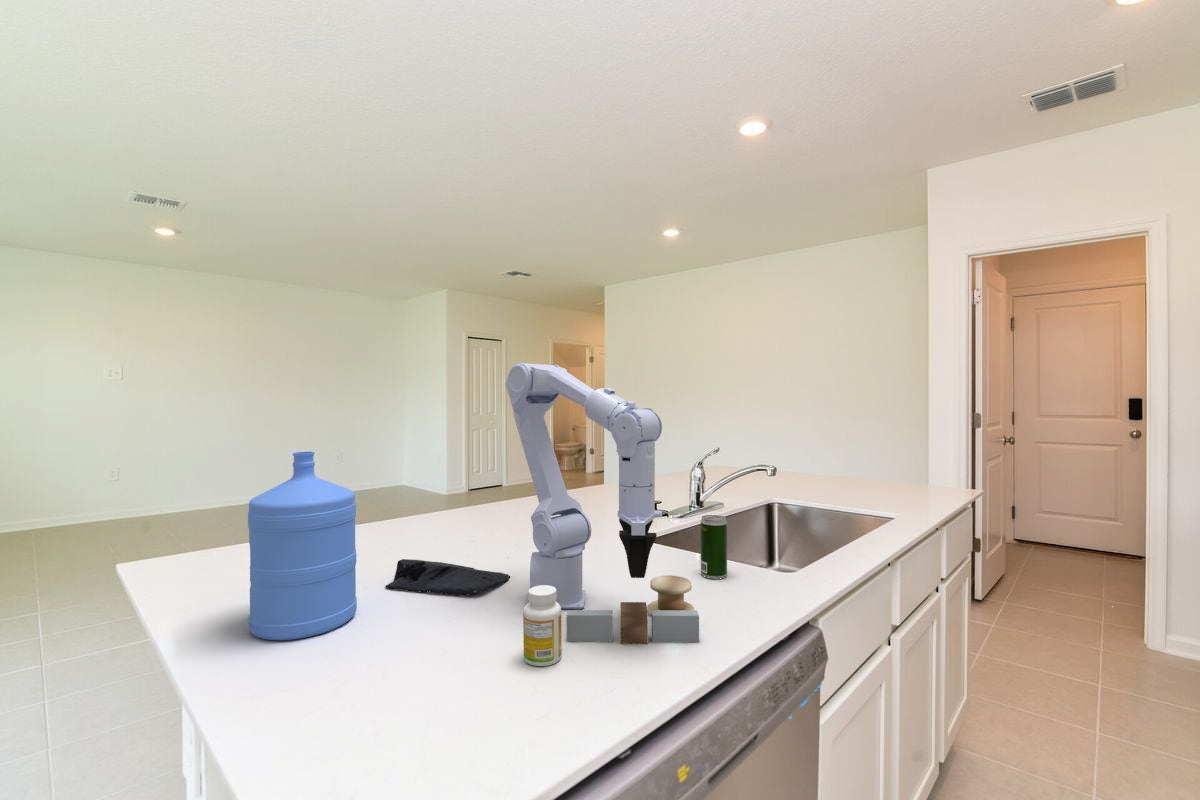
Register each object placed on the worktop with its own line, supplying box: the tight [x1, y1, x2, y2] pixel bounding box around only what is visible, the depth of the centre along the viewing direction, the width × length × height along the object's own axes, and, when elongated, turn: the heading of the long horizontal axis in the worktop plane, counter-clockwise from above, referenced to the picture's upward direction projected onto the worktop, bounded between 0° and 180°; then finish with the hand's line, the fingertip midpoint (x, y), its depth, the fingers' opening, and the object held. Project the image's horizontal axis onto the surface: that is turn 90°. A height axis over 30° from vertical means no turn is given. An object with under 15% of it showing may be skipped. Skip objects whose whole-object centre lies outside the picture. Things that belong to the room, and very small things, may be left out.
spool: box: [647, 574, 696, 618], centre depth 92 cm, size 8×8×5 cm
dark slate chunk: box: [384, 558, 511, 596], centre depth 107 cm, size 15×22×5 cm
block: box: [619, 601, 649, 645], centre depth 82 cm, size 4×4×5 cm
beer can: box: [700, 514, 728, 580], centre depth 111 cm, size 5×5×12 cm
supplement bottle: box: [522, 585, 563, 667], centre depth 76 cm, size 5×5×10 cm
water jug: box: [247, 451, 358, 641], centre depth 89 cm, size 16×16×28 cm
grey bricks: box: [566, 609, 700, 643], centre depth 82 cm, size 20×2×4 cm, turn 89°
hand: (636, 569), depth 86 cm, fingers open, 7 cm apart
